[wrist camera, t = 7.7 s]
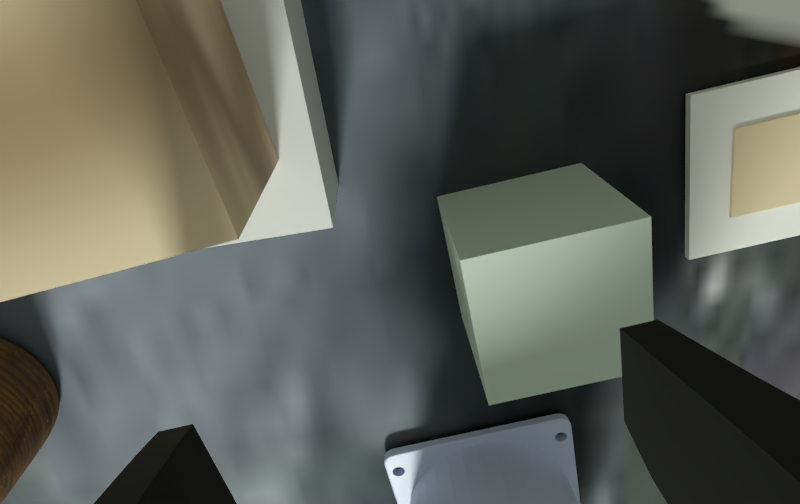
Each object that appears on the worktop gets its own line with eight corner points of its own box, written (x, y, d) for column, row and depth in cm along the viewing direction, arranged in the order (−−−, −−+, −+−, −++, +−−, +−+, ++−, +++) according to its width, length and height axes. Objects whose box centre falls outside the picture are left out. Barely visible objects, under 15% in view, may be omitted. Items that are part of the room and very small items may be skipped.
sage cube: (590, 286, 20) (654, 369, 16) (461, 315, 21) (488, 405, 16) (580, 162, 18) (651, 216, 14) (436, 196, 19) (460, 260, 14)
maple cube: (279, 160, 14) (238, 239, 9) (97, 209, 14) (-27, 309, 10) (199, -57, 12) (97, -88, 7) (-13, 7, 12) (-240, 13, 8)
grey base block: (339, 181, 18) (333, 227, 15) (80, 223, 18) (11, 278, 15) (274, -135, 14) (244, -178, 11) (-55, -81, 15) (-192, -106, 11)
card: (848, 219, 20) (857, 223, 19) (684, 256, 20) (690, 261, 20) (874, 48, 17) (885, 50, 17) (685, 93, 17) (692, 95, 17)
